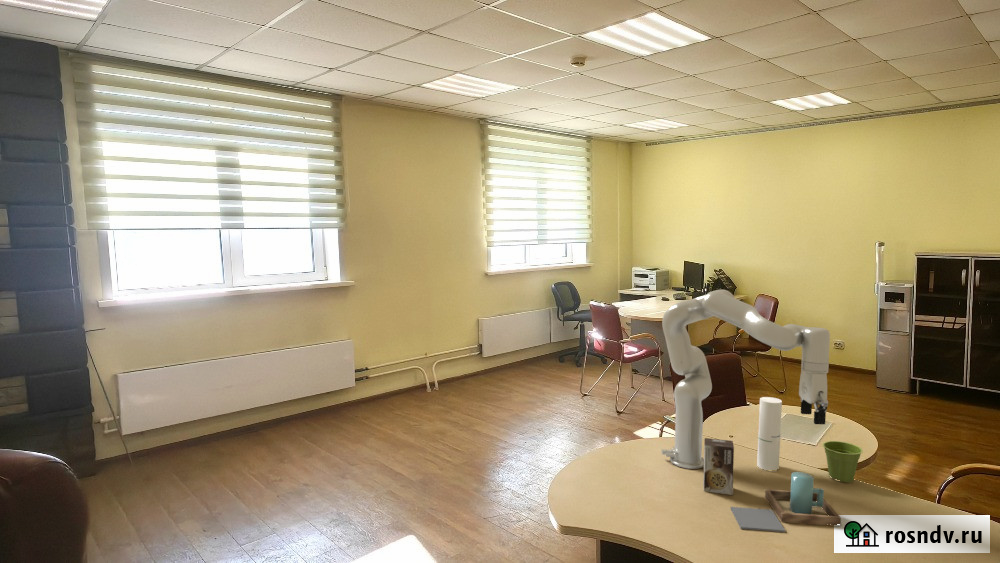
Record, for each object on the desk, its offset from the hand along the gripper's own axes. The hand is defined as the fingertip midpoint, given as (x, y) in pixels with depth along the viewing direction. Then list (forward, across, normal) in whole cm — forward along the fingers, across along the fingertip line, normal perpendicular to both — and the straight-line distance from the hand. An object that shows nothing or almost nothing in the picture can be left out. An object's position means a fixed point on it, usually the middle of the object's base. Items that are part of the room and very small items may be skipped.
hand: (812, 418), depth 180 cm
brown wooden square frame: (+26, +11, -7) cm, 29 cm away
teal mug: (+26, +11, -5) cm, 28 cm away
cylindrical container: (+26, -21, -6) cm, 34 cm away
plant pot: (+26, -14, +16) cm, 34 cm away
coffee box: (+26, -1, -28) cm, 38 cm away
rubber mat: (+25, +18, -22) cm, 38 cm away
